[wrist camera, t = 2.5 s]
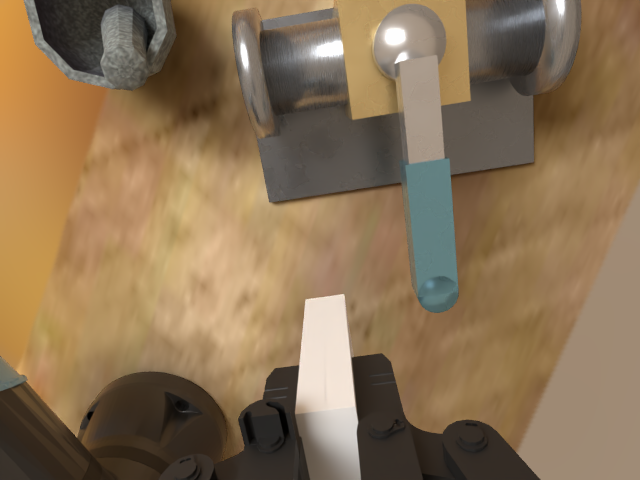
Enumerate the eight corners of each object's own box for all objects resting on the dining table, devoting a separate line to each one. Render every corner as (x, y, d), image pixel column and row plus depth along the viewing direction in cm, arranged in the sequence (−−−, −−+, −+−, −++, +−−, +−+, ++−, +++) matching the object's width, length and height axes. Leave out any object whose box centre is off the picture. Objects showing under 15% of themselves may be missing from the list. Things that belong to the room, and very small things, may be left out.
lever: (399, 295, 34) (407, 316, 30) (367, 15, 28) (374, 3, 25) (456, 287, 33) (472, 308, 30) (437, 3, 28) (453, -11, 24)
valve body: (270, 201, 41) (255, 229, 32) (236, 26, 37) (207, 1, 28) (530, 161, 40) (592, 178, 31) (528, -25, 36) (599, -69, 26)
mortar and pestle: (53, 20, 37) (-68, -16, 25) (128, -66, 35) (35, -148, 23) (153, 126, 39) (85, 135, 28) (228, 51, 37) (188, 28, 26)
